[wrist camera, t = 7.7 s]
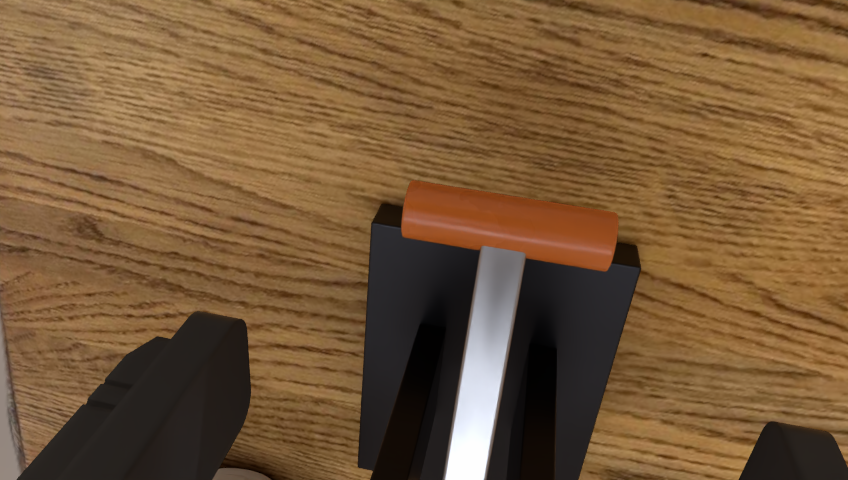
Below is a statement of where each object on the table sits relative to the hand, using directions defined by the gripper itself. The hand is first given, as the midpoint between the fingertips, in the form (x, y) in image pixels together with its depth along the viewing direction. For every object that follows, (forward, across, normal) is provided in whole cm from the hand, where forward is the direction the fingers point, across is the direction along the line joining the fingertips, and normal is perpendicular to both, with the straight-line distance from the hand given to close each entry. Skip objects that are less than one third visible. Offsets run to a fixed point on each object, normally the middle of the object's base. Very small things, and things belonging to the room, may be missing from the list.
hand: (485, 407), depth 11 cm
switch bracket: (+13, 0, +10) cm, 16 cm away
